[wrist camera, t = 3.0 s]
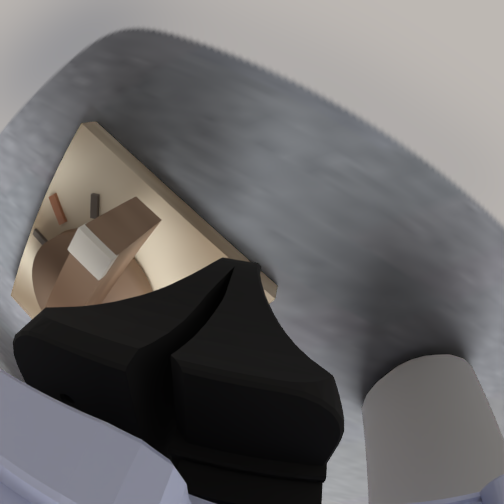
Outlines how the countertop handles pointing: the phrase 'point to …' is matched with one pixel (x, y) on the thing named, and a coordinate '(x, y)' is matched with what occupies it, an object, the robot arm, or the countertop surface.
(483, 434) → the can
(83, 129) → the dial plate
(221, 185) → the countertop surface
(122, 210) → the dial
